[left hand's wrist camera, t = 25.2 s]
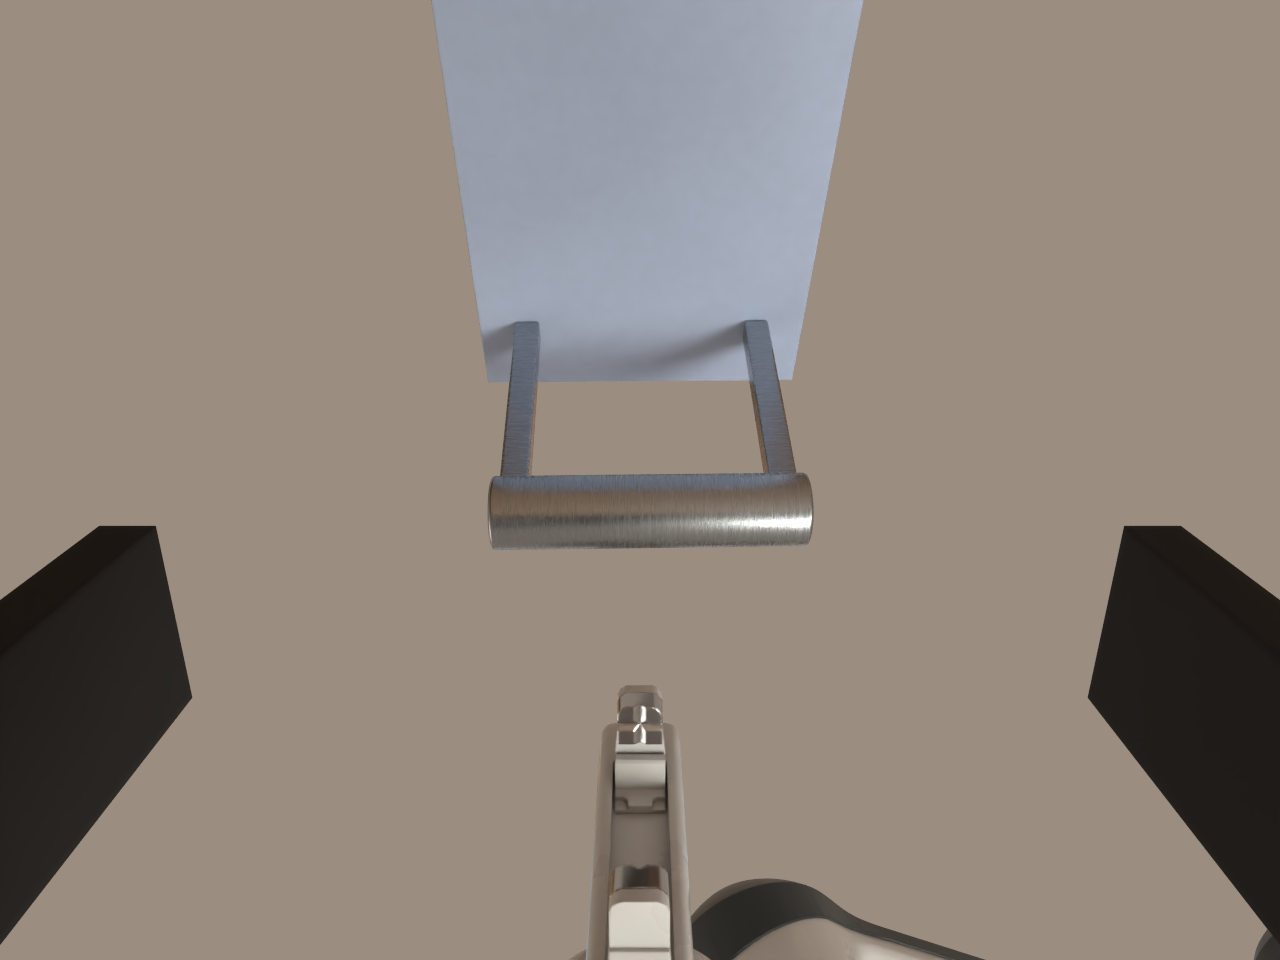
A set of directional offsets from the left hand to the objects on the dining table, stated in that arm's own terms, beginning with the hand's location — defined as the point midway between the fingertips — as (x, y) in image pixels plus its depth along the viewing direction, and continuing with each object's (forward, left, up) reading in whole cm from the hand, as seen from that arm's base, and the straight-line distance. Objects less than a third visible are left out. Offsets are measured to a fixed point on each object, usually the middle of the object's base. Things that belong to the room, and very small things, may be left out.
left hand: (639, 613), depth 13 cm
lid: (+10, -10, -6) cm, 15 cm away
